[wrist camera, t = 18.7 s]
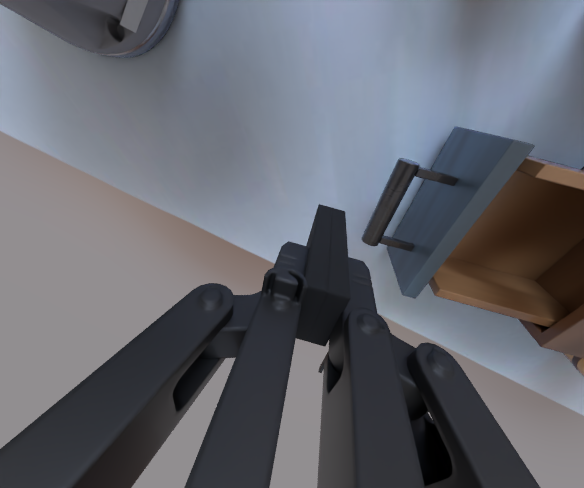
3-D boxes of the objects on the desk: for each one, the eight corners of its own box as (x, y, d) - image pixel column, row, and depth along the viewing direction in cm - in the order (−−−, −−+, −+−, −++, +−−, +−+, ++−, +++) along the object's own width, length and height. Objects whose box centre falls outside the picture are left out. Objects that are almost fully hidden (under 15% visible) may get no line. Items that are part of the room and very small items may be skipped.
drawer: (348, 237, 25) (352, 281, 19) (402, 112, 18) (434, 119, 12) (523, 285, 25) (583, 345, 19) (647, 175, 18) (809, 215, 12)
